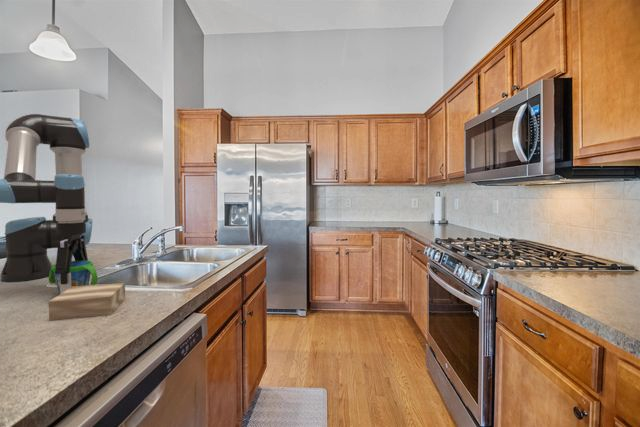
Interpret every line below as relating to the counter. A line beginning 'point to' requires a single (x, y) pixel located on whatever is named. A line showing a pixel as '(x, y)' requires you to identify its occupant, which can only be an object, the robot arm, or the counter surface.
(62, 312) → the maple block
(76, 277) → the snack cup
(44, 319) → the counter surface
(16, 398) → the counter surface
